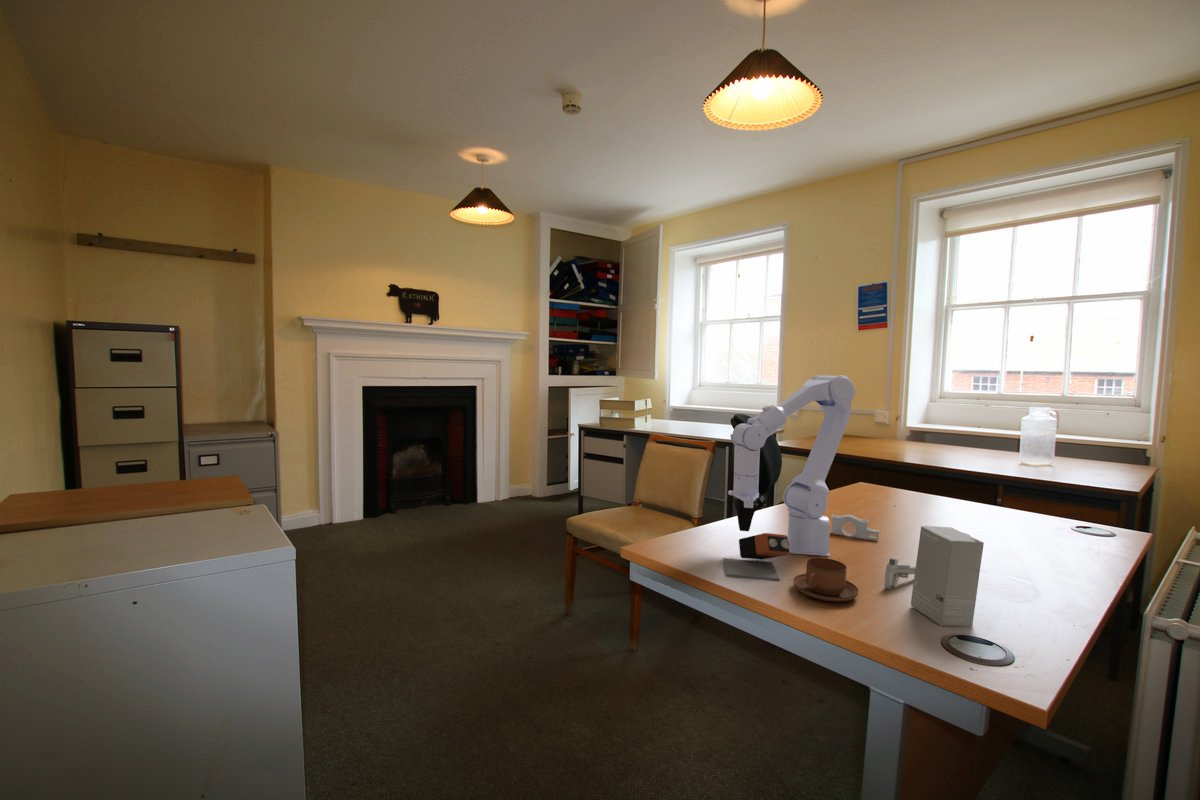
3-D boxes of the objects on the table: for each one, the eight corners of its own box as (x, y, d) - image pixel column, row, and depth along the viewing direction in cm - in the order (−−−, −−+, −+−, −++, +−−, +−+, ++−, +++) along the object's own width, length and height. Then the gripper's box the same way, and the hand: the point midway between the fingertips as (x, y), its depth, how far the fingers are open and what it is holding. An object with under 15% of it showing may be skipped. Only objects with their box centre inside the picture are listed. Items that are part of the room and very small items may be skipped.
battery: (762, 560, 126) (794, 554, 118) (739, 558, 124) (770, 552, 116) (760, 541, 128) (791, 534, 120) (737, 538, 125) (767, 531, 117)
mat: (772, 564, 124) (772, 561, 124) (779, 580, 114) (780, 578, 114) (723, 560, 125) (723, 558, 125) (726, 576, 116) (726, 574, 116)
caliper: (889, 591, 110) (891, 560, 110) (884, 589, 111) (885, 559, 111) (941, 573, 121) (943, 545, 121) (936, 571, 122) (938, 544, 122)
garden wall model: (879, 540, 143) (880, 518, 143) (878, 542, 142) (880, 520, 142) (831, 532, 150) (832, 511, 150) (830, 533, 149) (831, 512, 148)
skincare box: (909, 606, 103) (914, 524, 102) (945, 606, 103) (950, 524, 102) (941, 628, 94) (946, 539, 93) (979, 627, 95) (985, 538, 94)
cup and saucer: (853, 613, 100) (855, 580, 99) (786, 597, 106) (788, 566, 106) (861, 591, 110) (863, 561, 110) (800, 577, 116) (801, 549, 116)
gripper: (727, 467, 136) (725, 520, 137) (731, 479, 122) (729, 538, 123) (755, 469, 135) (753, 522, 136) (763, 481, 121) (761, 540, 122)
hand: (744, 530), depth 129 cm, fingers closed
